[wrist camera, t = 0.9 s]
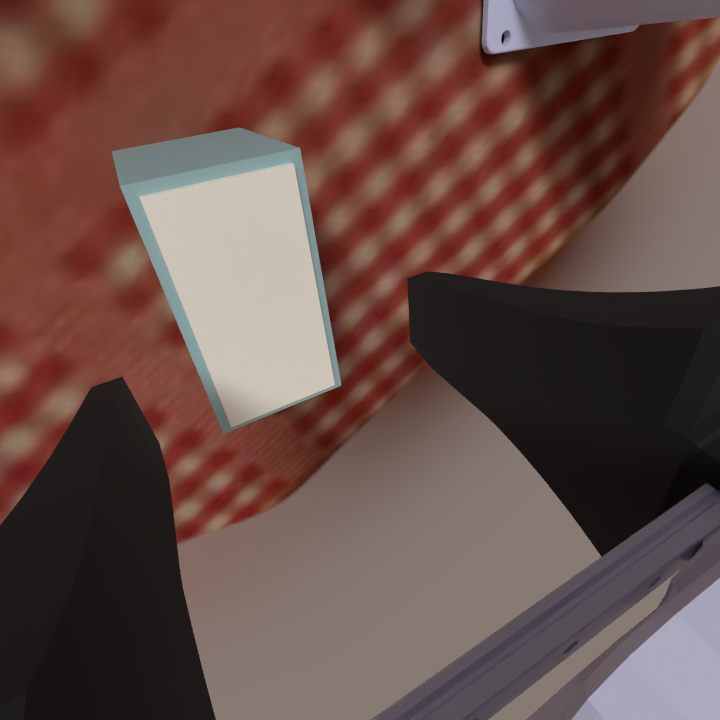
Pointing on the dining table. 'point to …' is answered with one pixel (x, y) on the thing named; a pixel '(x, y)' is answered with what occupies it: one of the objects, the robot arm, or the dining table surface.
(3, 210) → the dining table surface
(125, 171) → the boxed book
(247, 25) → the dining table surface
